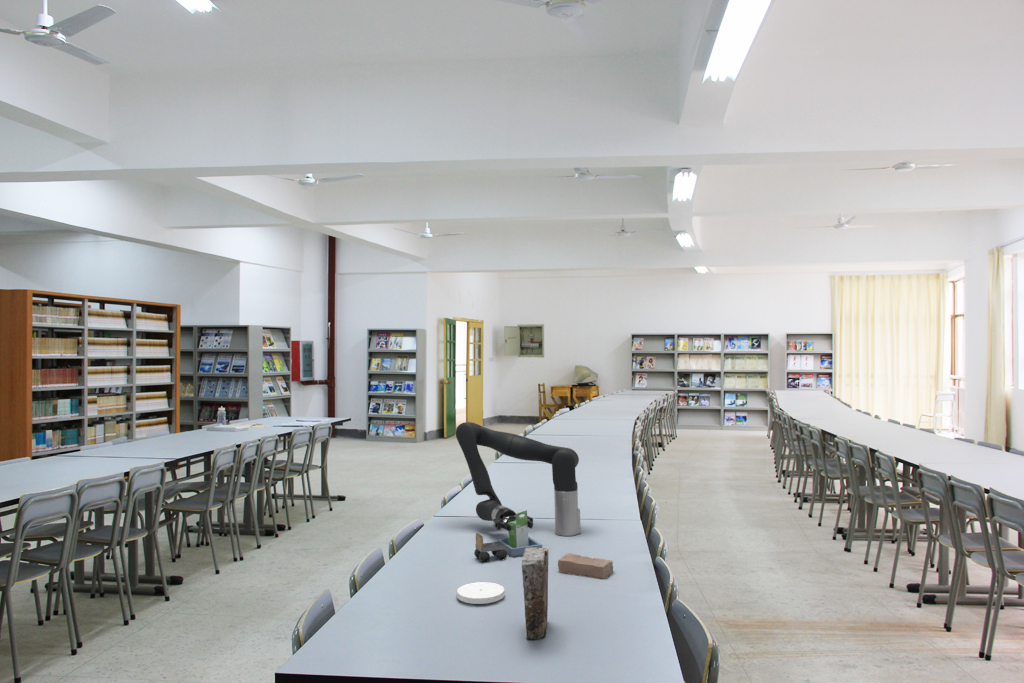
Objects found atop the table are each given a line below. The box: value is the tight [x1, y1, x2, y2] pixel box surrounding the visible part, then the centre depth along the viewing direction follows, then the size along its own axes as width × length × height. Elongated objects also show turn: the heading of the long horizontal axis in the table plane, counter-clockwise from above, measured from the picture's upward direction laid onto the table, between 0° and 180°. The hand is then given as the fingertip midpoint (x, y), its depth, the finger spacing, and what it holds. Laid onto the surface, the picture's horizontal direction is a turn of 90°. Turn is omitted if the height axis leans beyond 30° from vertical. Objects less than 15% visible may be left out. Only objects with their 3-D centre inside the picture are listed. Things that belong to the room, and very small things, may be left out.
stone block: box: [521, 547, 549, 641], centre depth 179 cm, size 13×7×20 cm, turn 178°
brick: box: [557, 552, 614, 580], centre depth 225 cm, size 16×8×5 cm, turn 62°
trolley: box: [473, 532, 508, 563], centre depth 241 cm, size 10×6×9 cm, turn 112°
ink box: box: [507, 509, 529, 548], centre depth 251 cm, size 7×4×13 cm, turn 141°
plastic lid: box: [456, 581, 506, 605], centre depth 204 cm, size 14×14×2 cm
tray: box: [496, 536, 543, 558], centre depth 251 cm, size 12×14×3 cm
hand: (520, 526), depth 249 cm, fingers open, 8 cm apart
